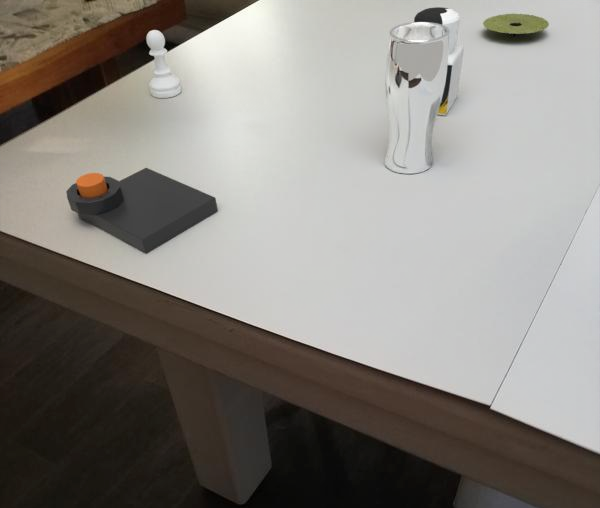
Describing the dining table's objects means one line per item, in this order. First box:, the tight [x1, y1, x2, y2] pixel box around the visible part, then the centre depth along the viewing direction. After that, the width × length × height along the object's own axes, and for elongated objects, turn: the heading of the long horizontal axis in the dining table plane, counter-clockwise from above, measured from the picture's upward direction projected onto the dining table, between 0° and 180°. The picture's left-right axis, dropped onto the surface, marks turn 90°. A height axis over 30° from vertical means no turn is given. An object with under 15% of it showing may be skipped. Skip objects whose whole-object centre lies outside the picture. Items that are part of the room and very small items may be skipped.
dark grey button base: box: [66, 167, 219, 255], centre depth 69 cm, size 14×12×4 cm
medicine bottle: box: [413, 6, 465, 116], centre depth 83 cm, size 7×7×12 cm
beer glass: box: [384, 21, 450, 175], centre depth 70 cm, size 7×7×15 cm
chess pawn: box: [145, 29, 182, 99], centre depth 93 cm, size 5×5×9 cm
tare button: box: [75, 172, 108, 197], centre depth 68 cm, size 3×3×2 cm
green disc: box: [482, 13, 550, 35], centre depth 105 cm, size 11×11×2 cm
